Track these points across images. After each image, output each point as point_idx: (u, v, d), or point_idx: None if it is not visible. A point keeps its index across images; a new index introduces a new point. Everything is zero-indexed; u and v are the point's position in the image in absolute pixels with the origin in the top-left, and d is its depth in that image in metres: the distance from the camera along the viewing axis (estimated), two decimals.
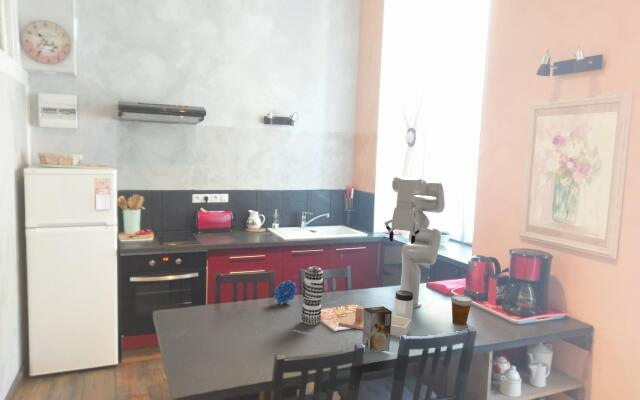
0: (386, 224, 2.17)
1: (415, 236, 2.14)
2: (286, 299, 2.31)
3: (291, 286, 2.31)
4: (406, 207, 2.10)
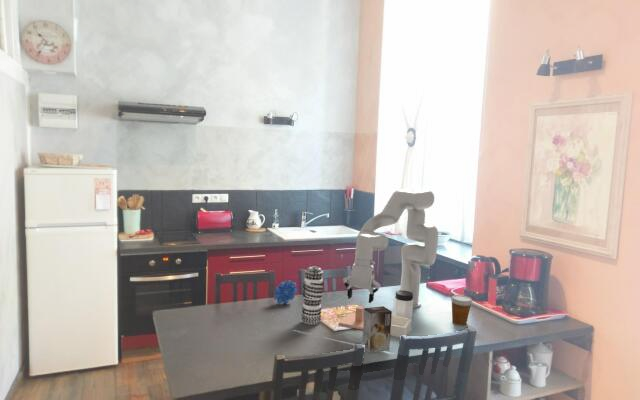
0: (344, 280, 2.11)
1: (373, 294, 2.07)
2: (286, 299, 2.31)
3: (291, 286, 2.31)
4: (364, 265, 2.04)
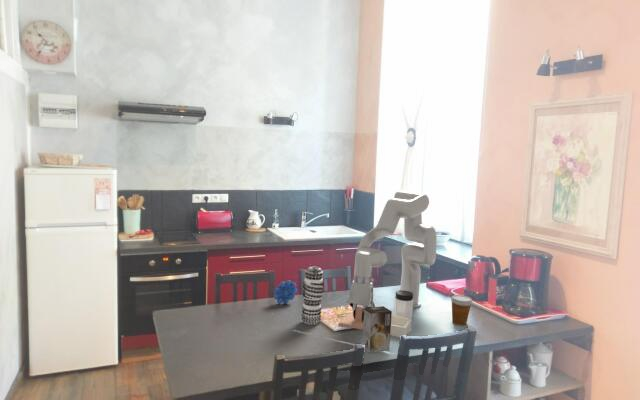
0: (348, 302, 2.12)
1: None
2: (286, 299, 2.31)
3: (291, 286, 2.31)
4: (363, 282, 2.05)
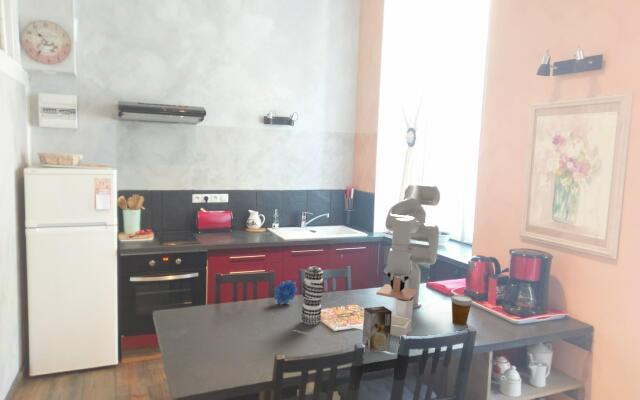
0: (386, 272, 2.03)
1: (404, 282, 2.02)
2: (286, 299, 2.31)
3: (291, 286, 2.31)
4: (402, 250, 1.97)
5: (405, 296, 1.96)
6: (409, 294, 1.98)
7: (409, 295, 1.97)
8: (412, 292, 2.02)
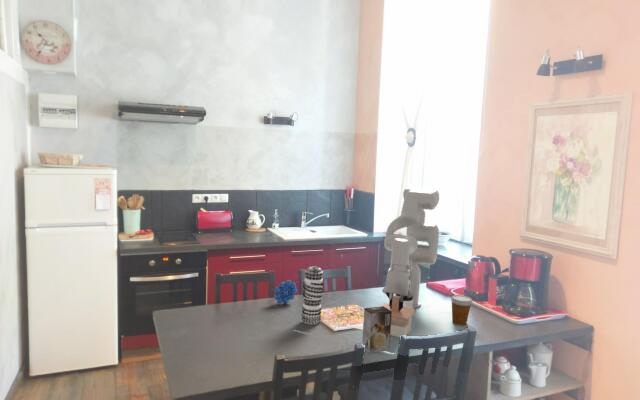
0: (384, 291, 2.04)
1: None
2: (286, 299, 2.31)
3: (291, 286, 2.31)
4: (400, 270, 1.98)
5: (403, 316, 1.97)
6: (408, 314, 1.99)
7: (408, 315, 1.98)
8: (411, 312, 2.02)
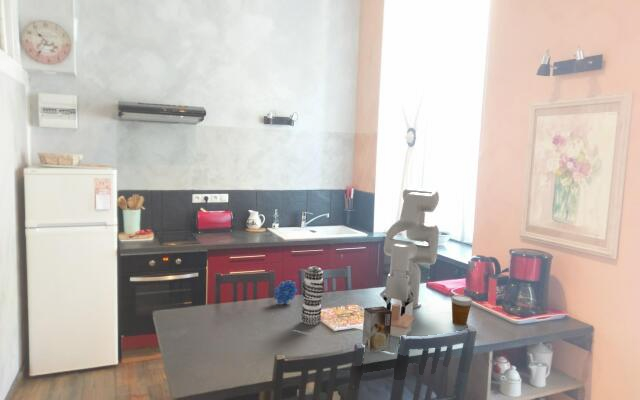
0: (382, 295, 2.05)
1: (405, 307, 2.03)
2: (286, 299, 2.31)
3: (291, 286, 2.31)
4: (400, 276, 1.98)
5: (403, 324, 1.97)
6: (407, 322, 1.99)
7: (407, 323, 1.99)
8: (410, 320, 2.03)
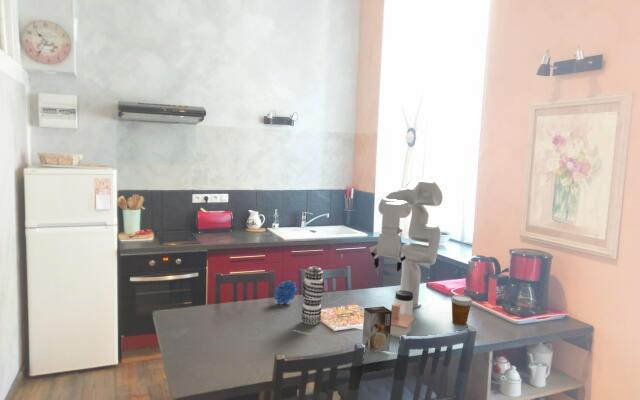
0: (371, 250, 2.09)
1: (401, 262, 2.06)
2: (286, 299, 2.31)
3: (291, 286, 2.31)
4: (391, 233, 2.02)
5: (403, 324, 1.97)
6: (407, 322, 1.99)
7: (407, 323, 1.99)
8: (410, 320, 2.03)
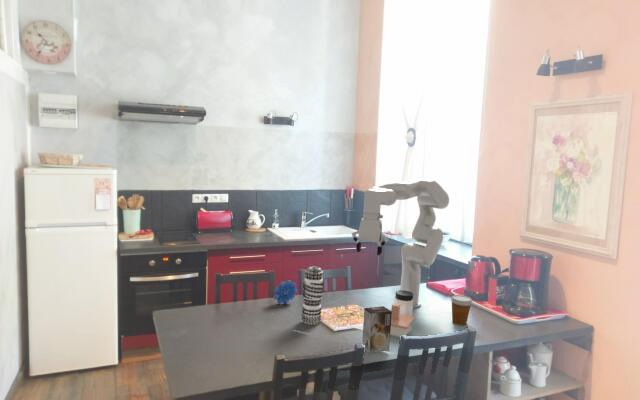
0: (353, 235, 2.19)
1: None
2: (286, 299, 2.31)
3: (291, 286, 2.31)
4: (372, 218, 2.11)
5: (403, 324, 1.97)
6: (407, 322, 1.99)
7: (407, 323, 1.99)
8: (410, 320, 2.03)
